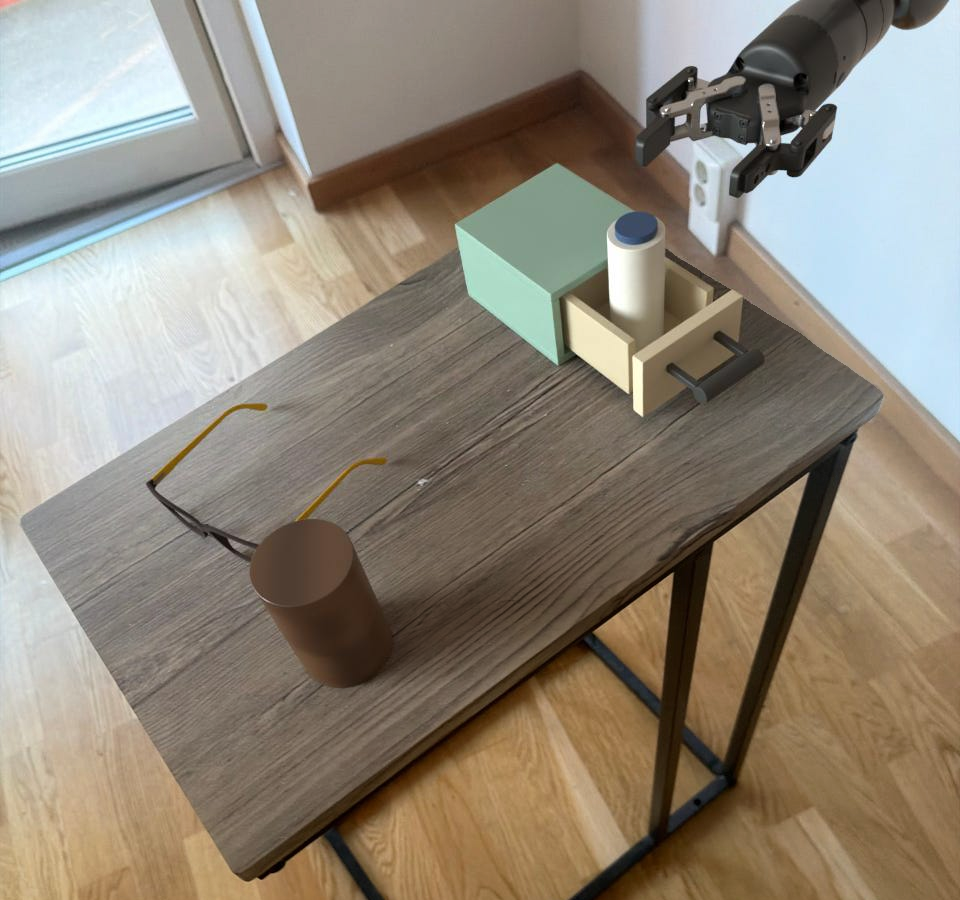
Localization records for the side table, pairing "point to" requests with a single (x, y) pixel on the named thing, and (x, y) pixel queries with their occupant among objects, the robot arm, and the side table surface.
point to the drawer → (661, 340)
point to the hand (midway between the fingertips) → (685, 170)
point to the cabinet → (537, 252)
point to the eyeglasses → (213, 531)
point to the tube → (637, 276)
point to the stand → (322, 602)
